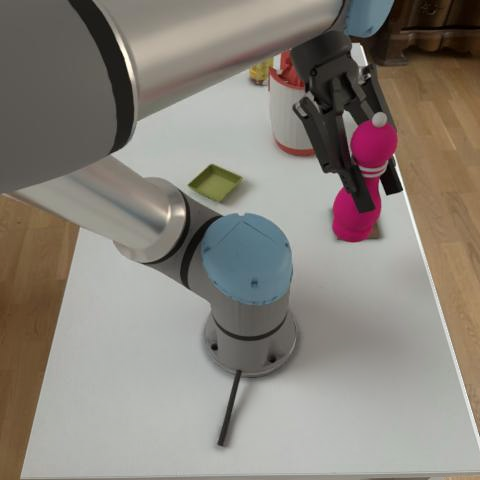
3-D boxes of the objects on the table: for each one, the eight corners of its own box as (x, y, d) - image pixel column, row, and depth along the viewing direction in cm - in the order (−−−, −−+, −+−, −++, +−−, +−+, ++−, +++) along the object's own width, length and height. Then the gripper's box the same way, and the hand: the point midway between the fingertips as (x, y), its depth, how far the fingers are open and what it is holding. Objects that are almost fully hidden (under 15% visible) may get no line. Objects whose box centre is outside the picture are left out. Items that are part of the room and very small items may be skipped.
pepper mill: (361, 208, 74) (392, 92, 57) (382, 238, 70) (422, 123, 53) (321, 219, 73) (341, 103, 56) (340, 250, 69) (368, 136, 52)
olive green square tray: (212, 170, 98) (211, 162, 96) (244, 184, 95) (243, 177, 93) (187, 193, 94) (186, 185, 93) (220, 208, 92) (219, 201, 90)
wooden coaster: (378, 238, 86) (379, 234, 85) (337, 239, 86) (337, 236, 85) (371, 209, 90) (372, 205, 89) (332, 210, 90) (332, 206, 89)
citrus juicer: (278, 112, 109) (281, 23, 92) (345, 131, 104) (361, 40, 87) (248, 149, 102) (246, 59, 85) (319, 170, 97) (332, 80, 80)
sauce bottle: (248, 74, 119) (246, -12, 102) (271, 72, 119) (273, -15, 102) (251, 88, 115) (249, 0, 98) (274, 85, 115) (277, -2, 98)
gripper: (274, 44, 50) (354, 228, 57) (383, -5, 56) (443, 168, 62) (245, 72, 57) (319, 234, 63) (345, 26, 62) (403, 179, 69)
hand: (381, 201), depth 63 cm, fingers closed on pepper mill, 5 cm apart
